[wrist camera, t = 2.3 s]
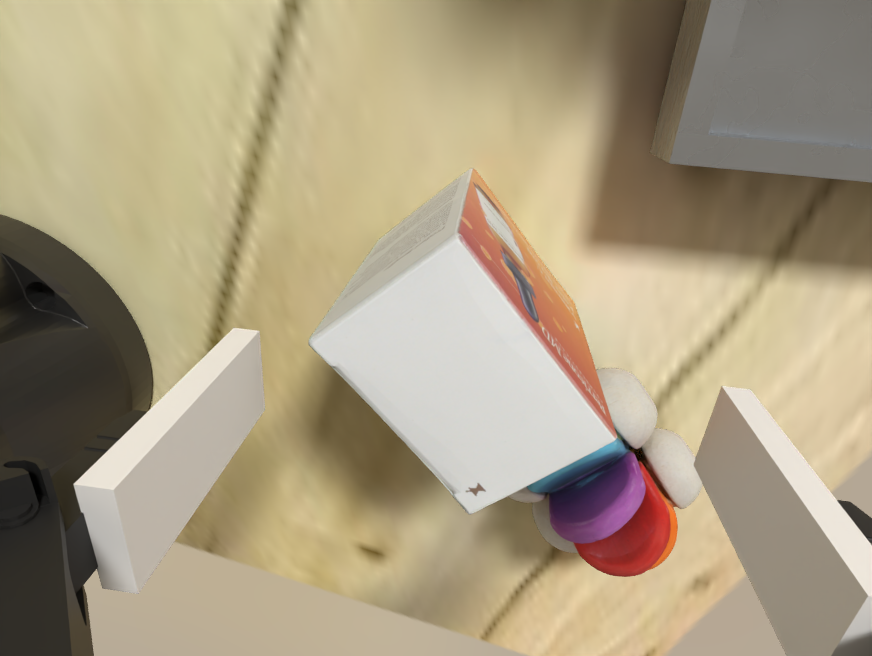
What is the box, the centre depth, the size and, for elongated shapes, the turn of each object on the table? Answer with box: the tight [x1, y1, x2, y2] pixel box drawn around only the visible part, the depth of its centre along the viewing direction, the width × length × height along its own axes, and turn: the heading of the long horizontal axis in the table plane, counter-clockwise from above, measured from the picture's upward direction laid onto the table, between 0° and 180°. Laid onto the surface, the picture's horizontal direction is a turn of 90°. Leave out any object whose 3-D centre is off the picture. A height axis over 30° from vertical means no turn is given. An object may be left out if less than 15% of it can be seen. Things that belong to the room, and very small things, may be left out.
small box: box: [309, 168, 617, 514], centre depth 20 cm, size 8×6×10 cm
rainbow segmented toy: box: [507, 368, 703, 577], centre depth 25 cm, size 8×10×7 cm
